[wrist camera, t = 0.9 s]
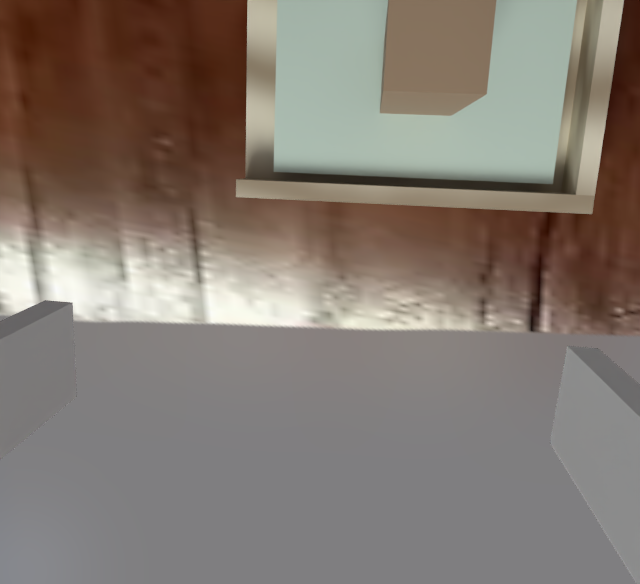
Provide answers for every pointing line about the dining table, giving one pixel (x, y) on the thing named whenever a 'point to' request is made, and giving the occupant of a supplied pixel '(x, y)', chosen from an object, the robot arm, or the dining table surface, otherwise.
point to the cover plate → (418, 143)
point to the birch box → (562, 196)
